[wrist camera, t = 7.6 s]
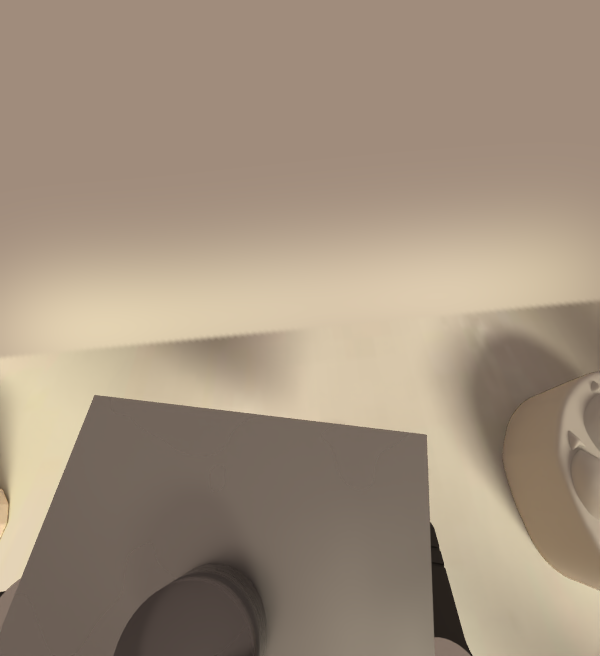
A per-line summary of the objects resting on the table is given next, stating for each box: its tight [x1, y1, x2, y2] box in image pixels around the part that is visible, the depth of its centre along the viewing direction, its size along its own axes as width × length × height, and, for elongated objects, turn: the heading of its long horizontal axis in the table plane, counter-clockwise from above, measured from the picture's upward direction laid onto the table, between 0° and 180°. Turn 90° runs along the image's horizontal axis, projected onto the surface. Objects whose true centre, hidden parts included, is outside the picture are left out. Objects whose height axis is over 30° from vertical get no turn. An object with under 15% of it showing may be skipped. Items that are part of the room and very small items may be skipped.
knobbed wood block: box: [0, 395, 435, 656], centre depth 9 cm, size 6×6×11 cm
